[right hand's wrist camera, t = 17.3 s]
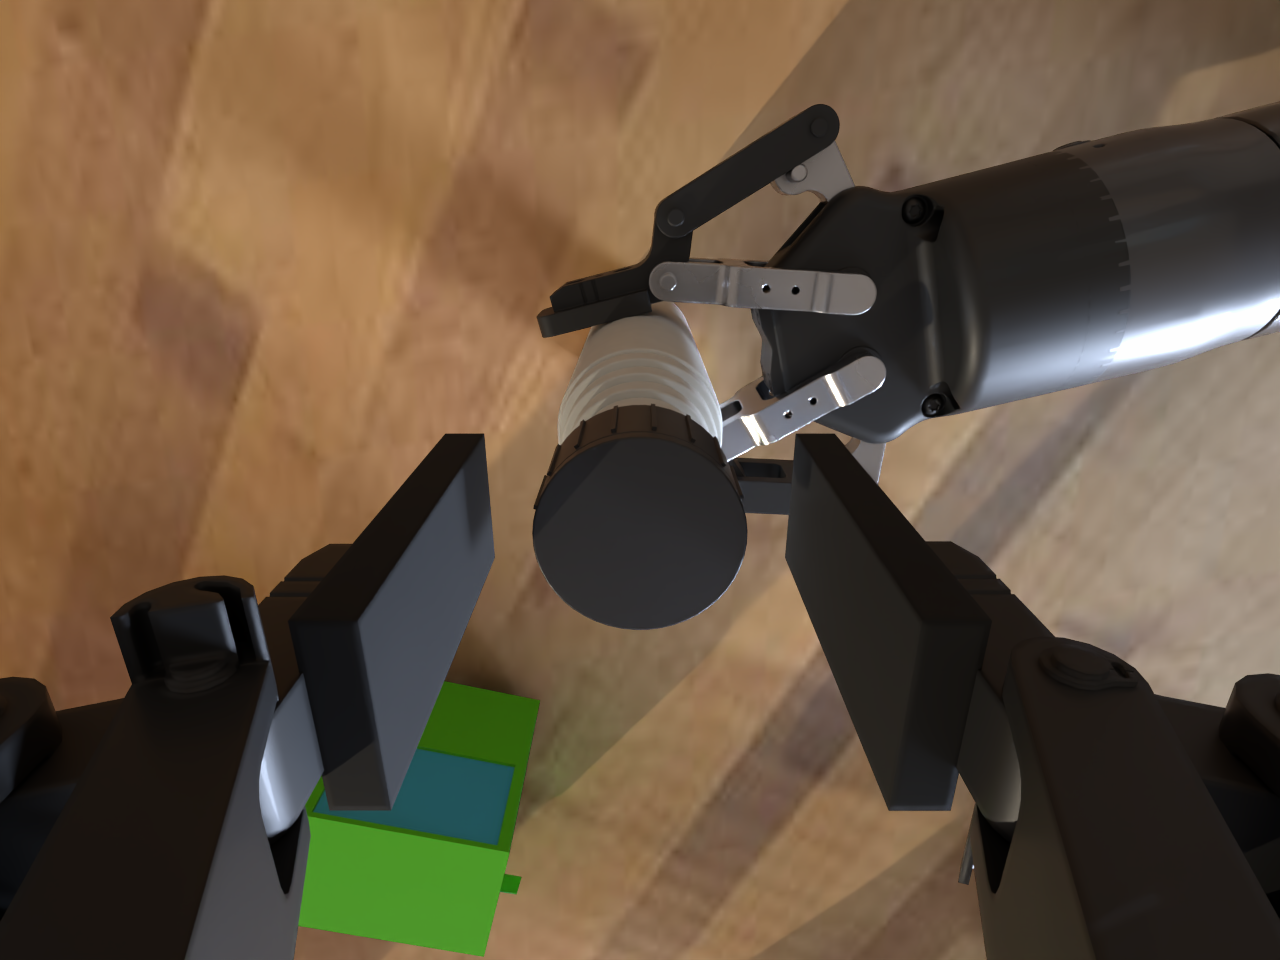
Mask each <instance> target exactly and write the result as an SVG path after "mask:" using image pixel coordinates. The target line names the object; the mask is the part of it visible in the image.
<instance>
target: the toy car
mask: <svg viewBox="0 0 1280 960" xmlns="http://www.w3.org/2000/svg"><path fill="white" fill-rule="evenodd" d="M539 704H540V700H536V699H531V698H526V697H521V696H516V695H511V694H506V693H501V692H496V691H491V690H486V689H481V688H476V687H471V686H466V685H461V684H456V683H451V682H446V681H444V683H443V685H442V688H441V690H440V693H439V695H438V697H437V700H436V702H435V705H434V707H433V710H432V712H431V715H430V717H429V719H428V722H427V724H426V727H425V729H424V732H423V734H422V737H421V739H420V741H419V744H418V746H417V749H416V751H415V754H414V756H413V759H412V761H411V763H410V766H409V768H408V771H407V773H406V776H405V778H404V780H403V783H402V785H401V788H400V790H399V793H398V795H397V798H396V800H395V802H394V805H393V807H392V810H391V811H329V806H328V802H327V797H326V793H325V788H324V784H323V779H322V775H321V777H320V779H319V781H318V783H317V784H316V786H315V788H314V790H313V792H312V793H311V795H310V797H309V799H308V801H307V802H306V804H305V807H306V812H307V816H308V820H309V827H310V834H311V838H310V845H309V852H308V859H307V866H306V874H305V881H304V888H303V895H302V902H301V909H300V917H299V924H298V926H302V927H308V928H314V929H320V930H326V931H332V932H338V933H344V934H350V935H356V936H362V937H368V938H374V939H380V940H386V941H393V942H399V943H405V944H411V945H417V946H423V947H429V948H435V949H441V950H447V951H453V952H459V953H465V954H471V955H477V956H483V957H484V954H485V950H486V946H487V942H488V938H489V934H490V930H491V925H492V921H493V917H494V913H495V909H496V905H497V901H498V897H499V893H500V892H504V893H510V894H517V891H518V887H519V884H520V881H521V877H519V876H514V875H508V874H504V873H505V869H506V865H507V861H508V857H509V853H510V848H511V843H512V838H513V833H514V828H515V823H516V818H517V813H518V808H519V803H520V798H521V793H522V788H523V783H524V778H525V773H526V768H527V763H528V758H529V753H530V748H531V743H532V738H533V733H534V728H535V724H536V719H537V714H538V709H539Z"/></svg>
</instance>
